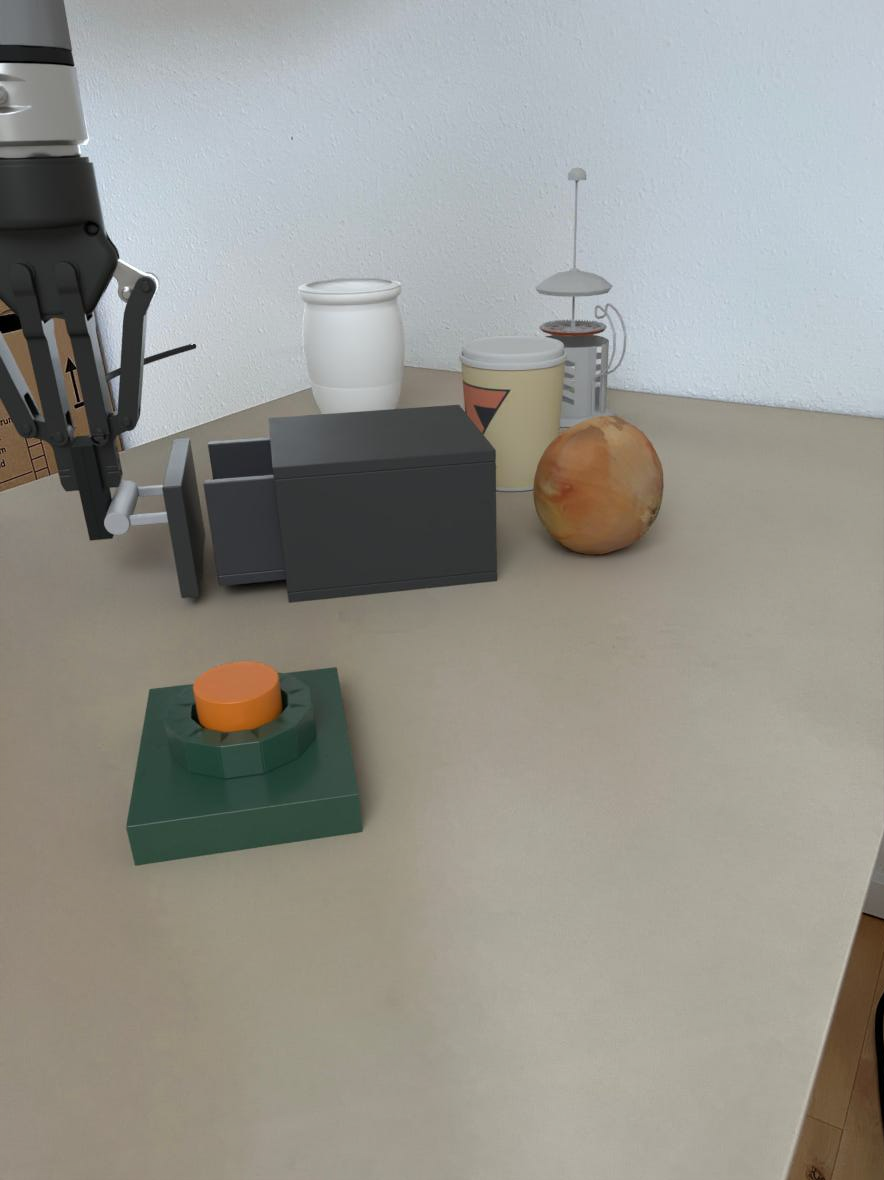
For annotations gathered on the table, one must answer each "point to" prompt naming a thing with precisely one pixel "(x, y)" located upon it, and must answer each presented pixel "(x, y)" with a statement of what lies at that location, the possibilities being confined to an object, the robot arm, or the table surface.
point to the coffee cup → (514, 400)
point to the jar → (353, 343)
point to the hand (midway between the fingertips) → (103, 532)
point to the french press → (581, 338)
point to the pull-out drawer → (214, 513)
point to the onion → (598, 485)
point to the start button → (237, 696)
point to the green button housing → (243, 775)
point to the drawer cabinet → (384, 501)
